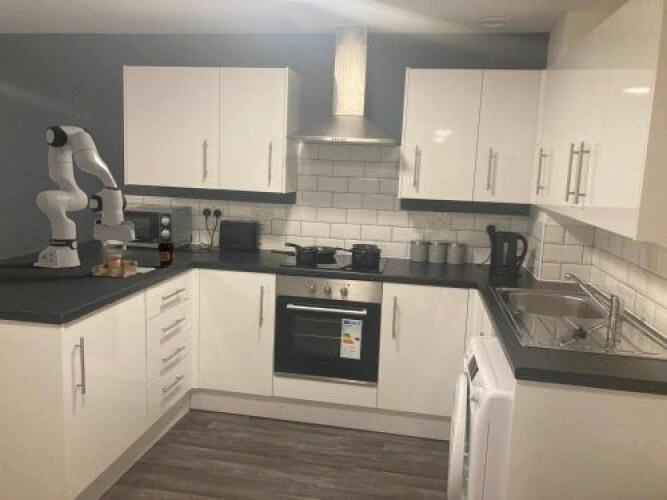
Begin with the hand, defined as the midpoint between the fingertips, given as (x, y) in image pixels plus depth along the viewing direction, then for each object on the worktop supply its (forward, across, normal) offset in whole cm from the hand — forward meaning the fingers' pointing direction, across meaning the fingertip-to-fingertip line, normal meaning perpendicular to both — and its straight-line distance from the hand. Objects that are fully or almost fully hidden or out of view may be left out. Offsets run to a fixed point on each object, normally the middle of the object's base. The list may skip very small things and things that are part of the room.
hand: (114, 249), depth 277 cm
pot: (+12, +1, 0) cm, 12 cm away
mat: (+12, -4, -13) cm, 19 cm away
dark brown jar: (+12, -12, -27) cm, 32 cm away
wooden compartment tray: (+12, +1, 0) cm, 12 cm away
